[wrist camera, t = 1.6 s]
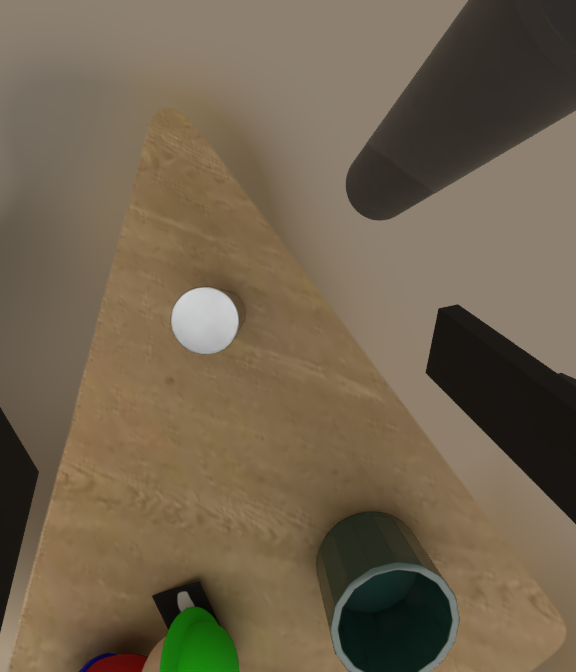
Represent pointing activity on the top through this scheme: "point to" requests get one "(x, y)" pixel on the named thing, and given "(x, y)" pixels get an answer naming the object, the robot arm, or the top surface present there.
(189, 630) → the toy figure
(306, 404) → the top surface
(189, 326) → the silver metal cylinder
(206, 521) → the top surface
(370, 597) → the utensil crock
